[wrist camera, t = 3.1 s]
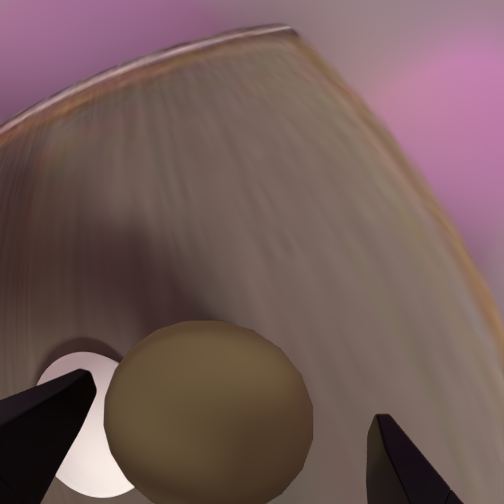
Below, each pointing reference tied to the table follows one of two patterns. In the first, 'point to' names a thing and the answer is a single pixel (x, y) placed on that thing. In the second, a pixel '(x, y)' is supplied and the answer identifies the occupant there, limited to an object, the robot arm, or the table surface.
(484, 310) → the table surface
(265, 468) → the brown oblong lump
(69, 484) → the coaster
